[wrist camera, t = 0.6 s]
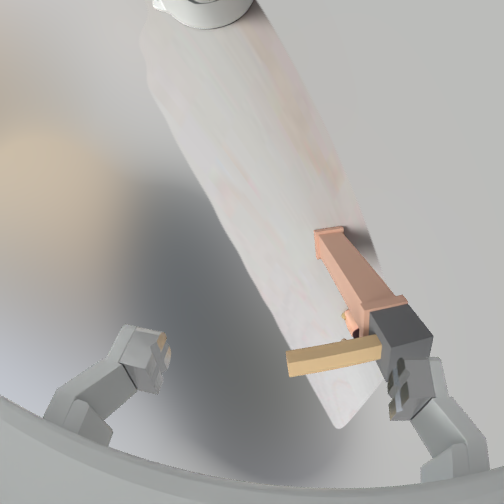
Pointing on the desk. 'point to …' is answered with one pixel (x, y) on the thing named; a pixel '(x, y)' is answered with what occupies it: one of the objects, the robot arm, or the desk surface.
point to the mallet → (369, 345)
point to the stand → (354, 277)
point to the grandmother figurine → (351, 324)
